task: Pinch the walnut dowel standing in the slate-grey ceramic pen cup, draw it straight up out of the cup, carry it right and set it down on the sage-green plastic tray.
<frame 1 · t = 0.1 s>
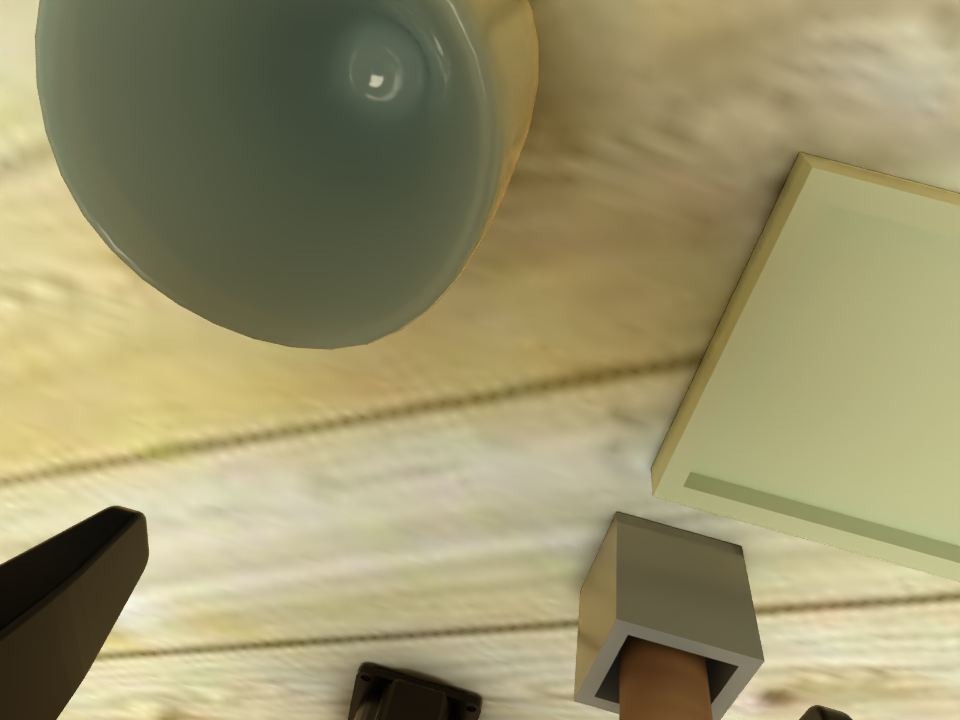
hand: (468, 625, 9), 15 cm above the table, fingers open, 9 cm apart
pen cup: (656, 570, 28), on the table
tray: (927, 391, 22), on the table
dowel: (657, 580, 28), resting on pen cup
cup: (416, 50, 19), on the table
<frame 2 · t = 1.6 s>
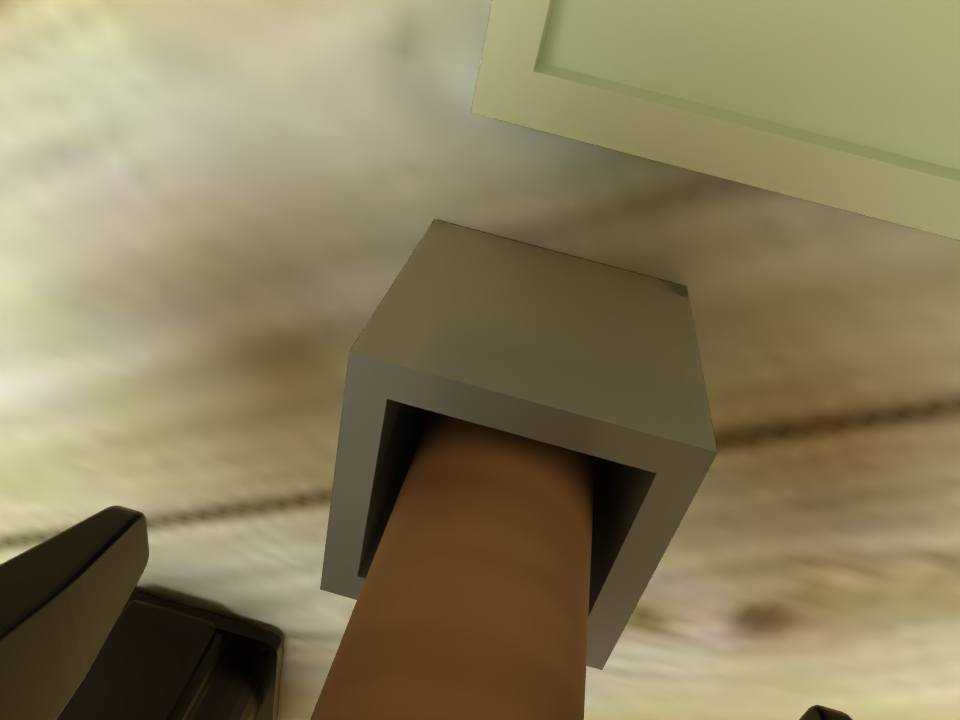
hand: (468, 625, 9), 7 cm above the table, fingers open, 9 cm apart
pen cup: (528, 358, 15), on the table
dowel: (525, 371, 14), resting on pen cup
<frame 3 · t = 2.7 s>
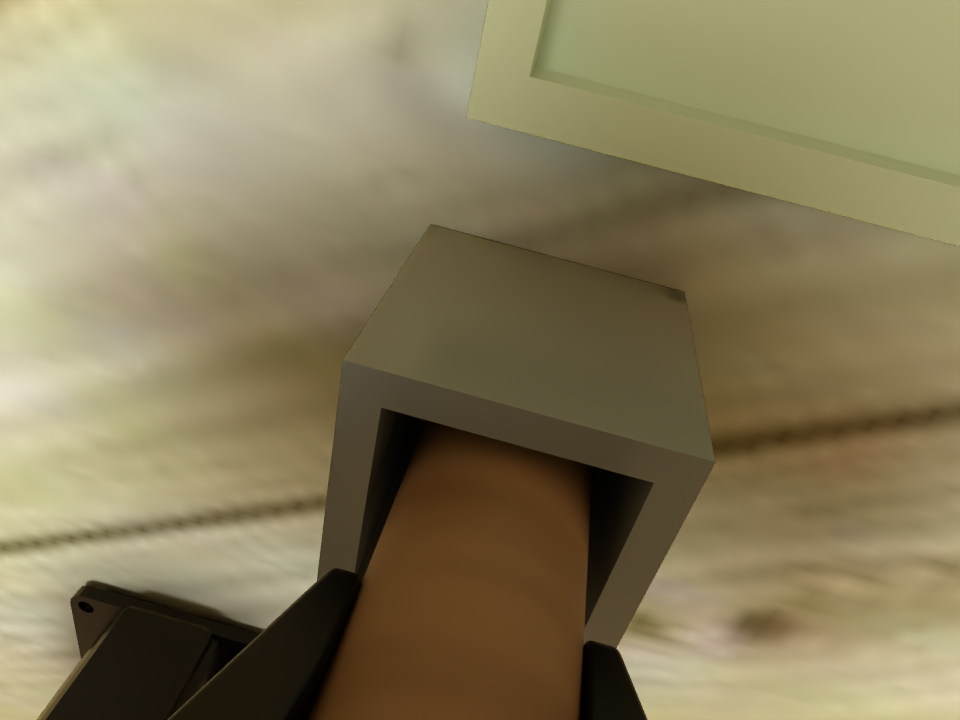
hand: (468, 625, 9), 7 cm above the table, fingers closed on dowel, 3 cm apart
pen cup: (525, 364, 14), on the table
dowel: (522, 377, 14), point 1 cm above the table, touching gripper, pen cup
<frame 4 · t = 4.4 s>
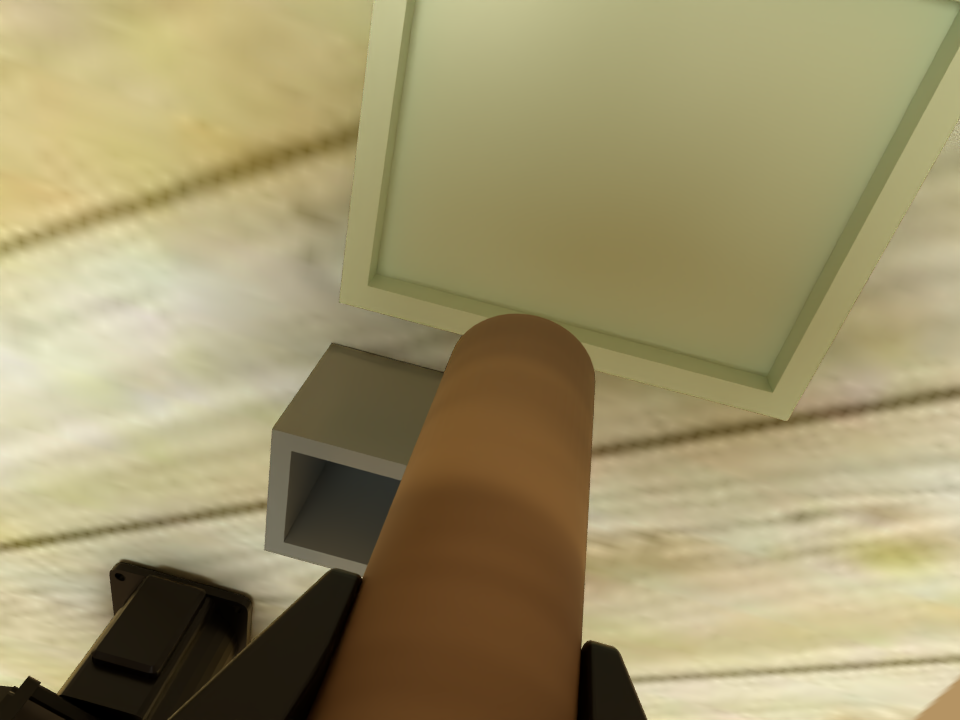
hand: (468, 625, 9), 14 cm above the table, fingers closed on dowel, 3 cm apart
pen cup: (391, 418, 25), on the table
tray: (623, 154, 19), on the table
dowel: (520, 378, 14), point 8 cm above the table, touching gripper
when the fingers open (7 cm above the table, at t = 6.3 s): dowel stays where it is, resting on tray.
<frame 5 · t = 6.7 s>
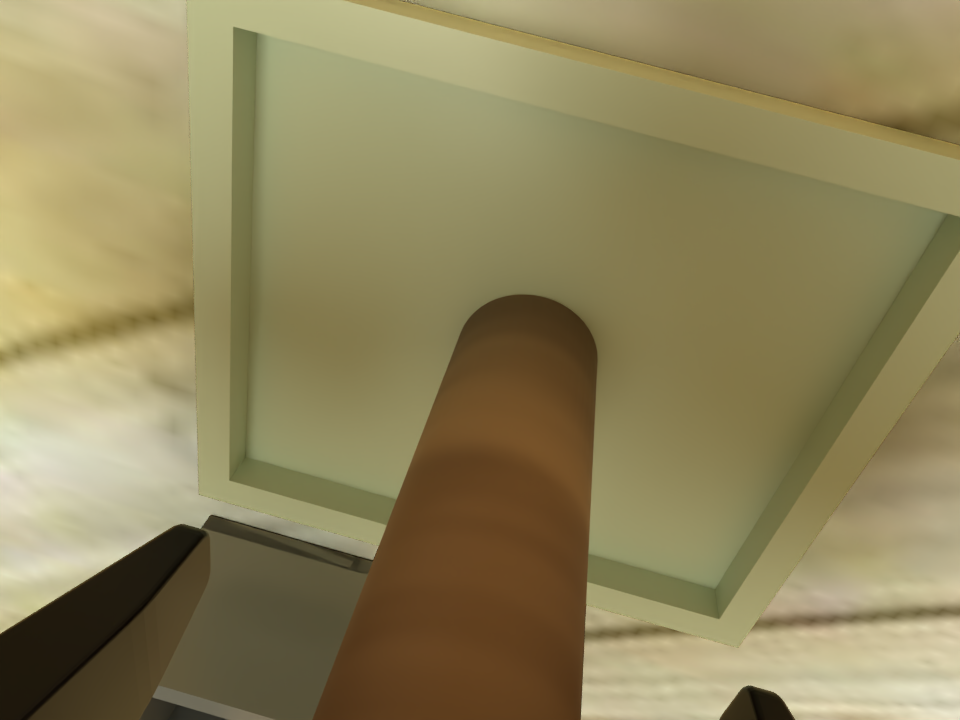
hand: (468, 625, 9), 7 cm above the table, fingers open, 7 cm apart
pen cup: (287, 592, 21), on the table
tray: (530, 342, 15), on the table
dowel: (526, 357, 15), point 1 cm above the table, touching tray
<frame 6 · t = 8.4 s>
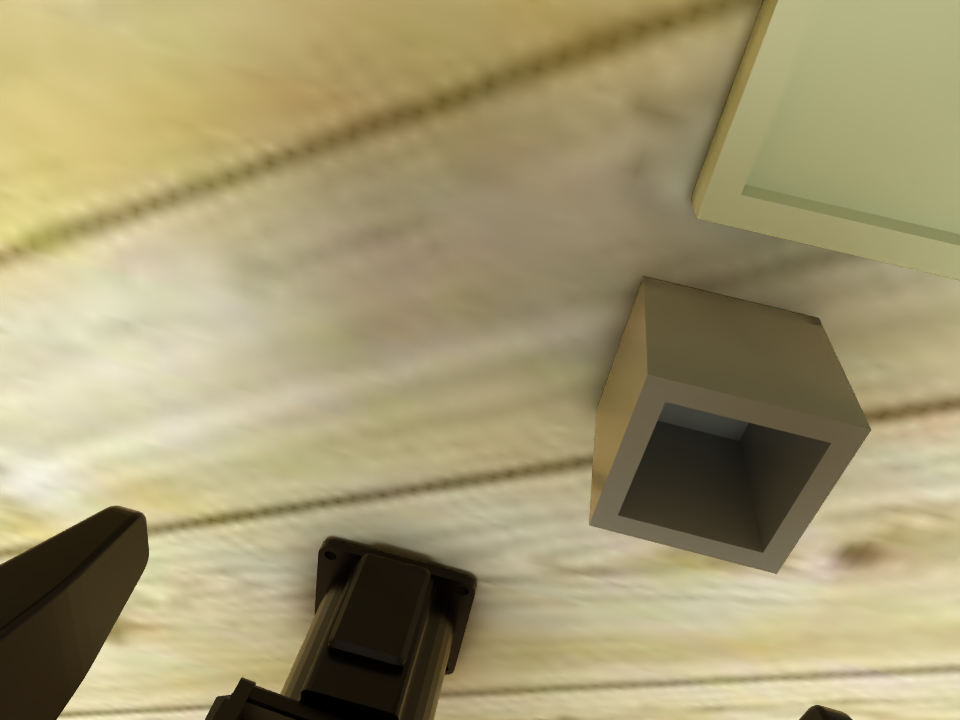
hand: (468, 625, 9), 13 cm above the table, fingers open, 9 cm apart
pen cup: (699, 368, 21), on the table
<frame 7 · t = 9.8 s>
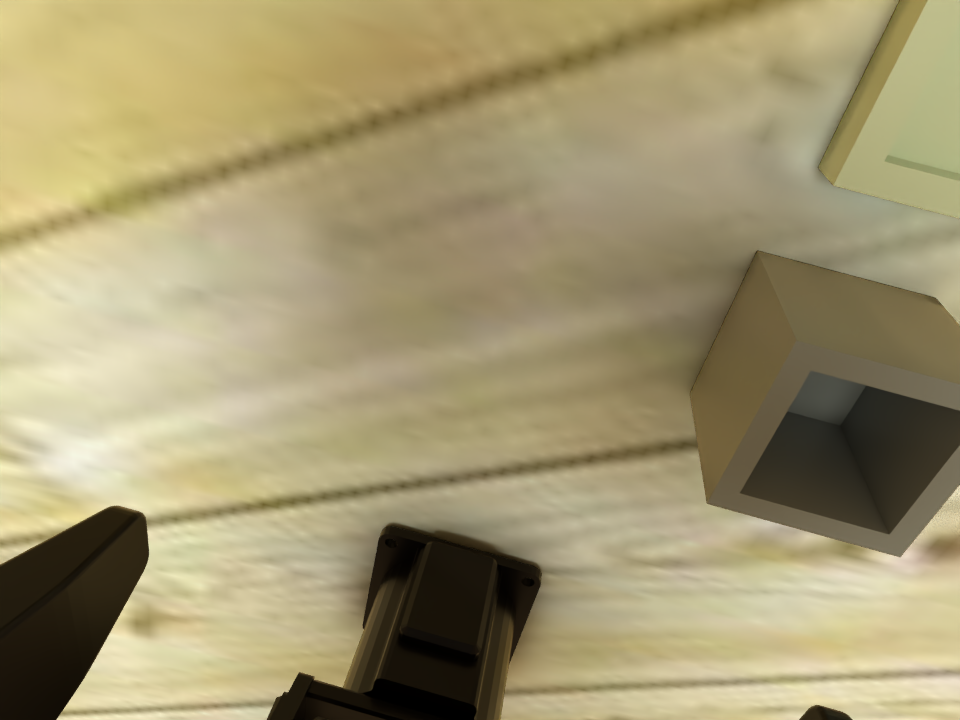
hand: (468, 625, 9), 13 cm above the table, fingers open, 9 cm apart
pen cup: (804, 349, 20), on the table
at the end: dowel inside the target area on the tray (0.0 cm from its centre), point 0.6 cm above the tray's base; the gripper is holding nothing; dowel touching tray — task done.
